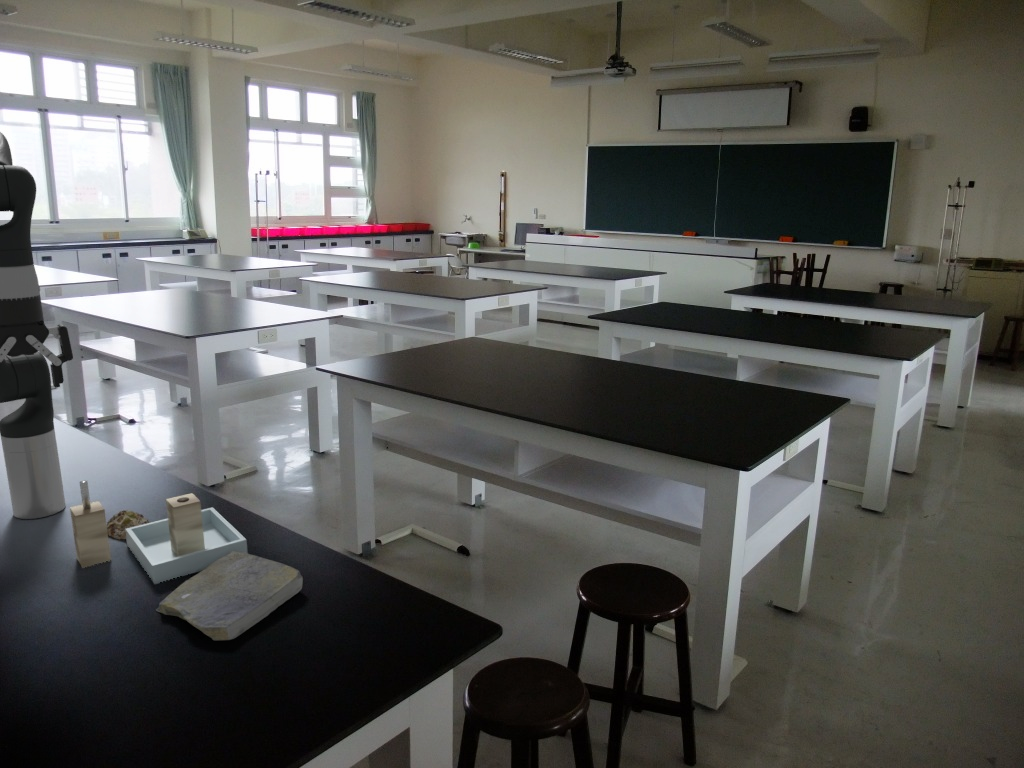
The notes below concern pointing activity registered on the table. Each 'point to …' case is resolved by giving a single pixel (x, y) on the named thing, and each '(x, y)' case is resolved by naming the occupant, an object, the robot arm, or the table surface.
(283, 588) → the fossil
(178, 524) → the block
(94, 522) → the block
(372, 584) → the table surface
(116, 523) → the mineral rock
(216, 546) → the tray
